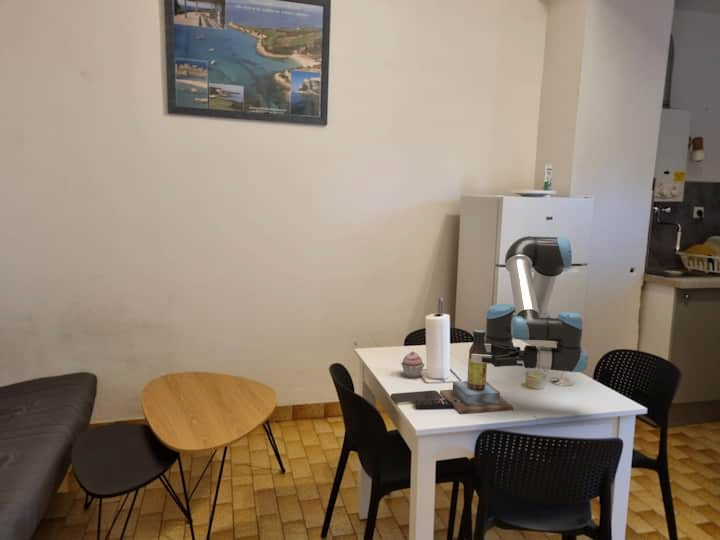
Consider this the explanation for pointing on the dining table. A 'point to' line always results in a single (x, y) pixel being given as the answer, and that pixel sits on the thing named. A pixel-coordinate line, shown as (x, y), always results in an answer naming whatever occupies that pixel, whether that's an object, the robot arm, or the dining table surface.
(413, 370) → the cupcake
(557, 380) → the wineglass
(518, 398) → the dining table surface
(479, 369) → the sauce bottle
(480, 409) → the base
